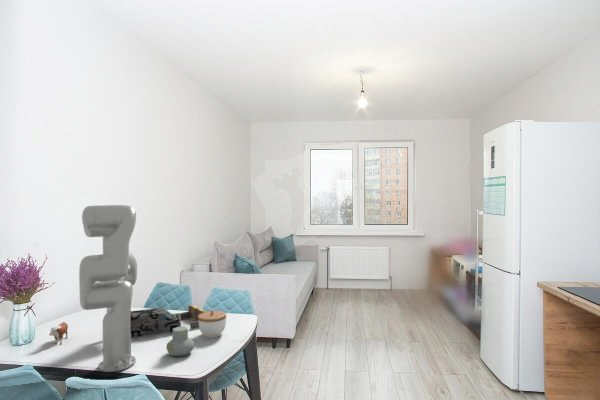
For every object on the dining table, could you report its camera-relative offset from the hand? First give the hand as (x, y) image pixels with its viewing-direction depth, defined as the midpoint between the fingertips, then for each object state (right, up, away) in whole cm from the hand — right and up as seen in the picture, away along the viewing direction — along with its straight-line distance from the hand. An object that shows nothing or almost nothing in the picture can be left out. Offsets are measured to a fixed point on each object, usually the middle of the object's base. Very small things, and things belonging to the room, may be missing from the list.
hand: (115, 334), depth 168 cm
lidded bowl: (+41, -3, +6) cm, 42 cm away
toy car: (+13, -3, +11) cm, 17 cm away
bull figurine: (-24, -3, -1) cm, 24 cm away
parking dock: (+27, -2, +23) cm, 36 cm away
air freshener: (+33, -3, -15) cm, 37 cm away
